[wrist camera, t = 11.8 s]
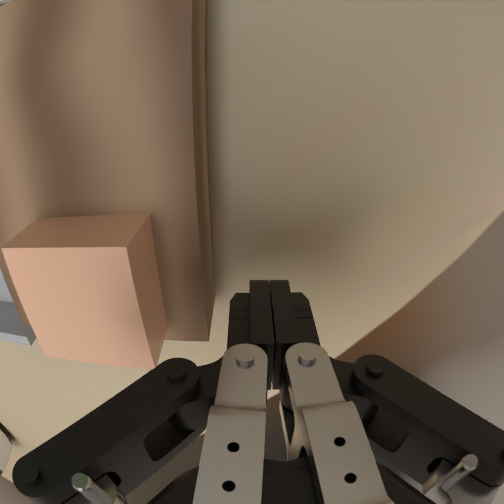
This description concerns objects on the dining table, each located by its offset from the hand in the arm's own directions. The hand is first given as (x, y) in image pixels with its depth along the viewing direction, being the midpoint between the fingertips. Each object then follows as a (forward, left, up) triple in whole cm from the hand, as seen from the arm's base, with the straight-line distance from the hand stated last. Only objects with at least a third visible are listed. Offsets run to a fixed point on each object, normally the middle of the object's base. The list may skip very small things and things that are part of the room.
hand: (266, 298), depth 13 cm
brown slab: (+9, -5, -6) cm, 12 cm away
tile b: (+8, 0, -2) cm, 8 cm away
